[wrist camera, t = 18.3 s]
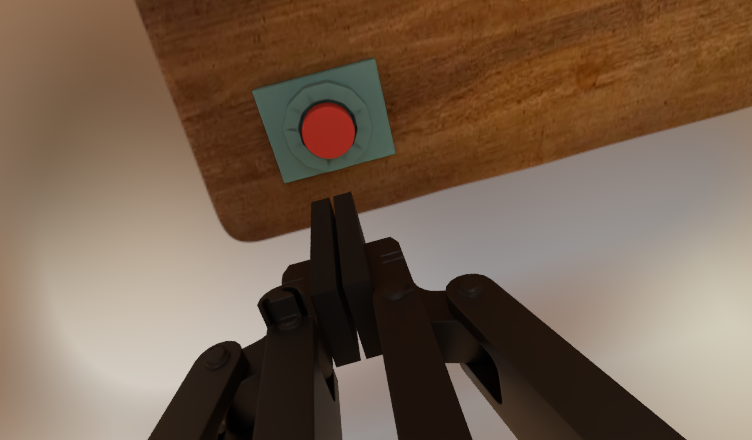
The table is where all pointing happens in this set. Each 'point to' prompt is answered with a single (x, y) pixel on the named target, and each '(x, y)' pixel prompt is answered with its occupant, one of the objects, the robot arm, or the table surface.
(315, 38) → the table surface
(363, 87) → the button housing
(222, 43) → the table surface
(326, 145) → the button
